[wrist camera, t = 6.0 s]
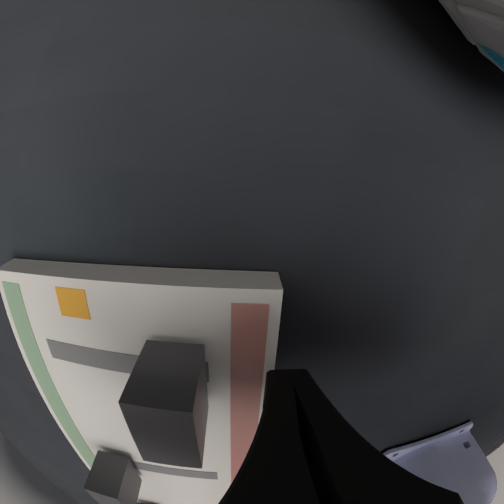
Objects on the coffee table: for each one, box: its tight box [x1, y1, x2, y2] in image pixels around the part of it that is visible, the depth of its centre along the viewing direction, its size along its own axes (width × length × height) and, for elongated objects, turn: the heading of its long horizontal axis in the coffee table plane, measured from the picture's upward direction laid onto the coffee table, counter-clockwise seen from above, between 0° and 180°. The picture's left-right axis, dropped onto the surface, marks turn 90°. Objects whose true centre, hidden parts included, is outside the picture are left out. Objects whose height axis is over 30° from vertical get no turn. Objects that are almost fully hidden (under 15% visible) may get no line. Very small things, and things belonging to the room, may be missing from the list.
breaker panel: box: [0, 258, 283, 504], centre depth 13 cm, size 12×25×2 cm, turn 177°
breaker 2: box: [118, 340, 209, 469], centre depth 8 cm, size 2×3×3 cm, turn 177°
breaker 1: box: [84, 450, 142, 504], centre depth 11 cm, size 2×3×3 cm, turn 177°
